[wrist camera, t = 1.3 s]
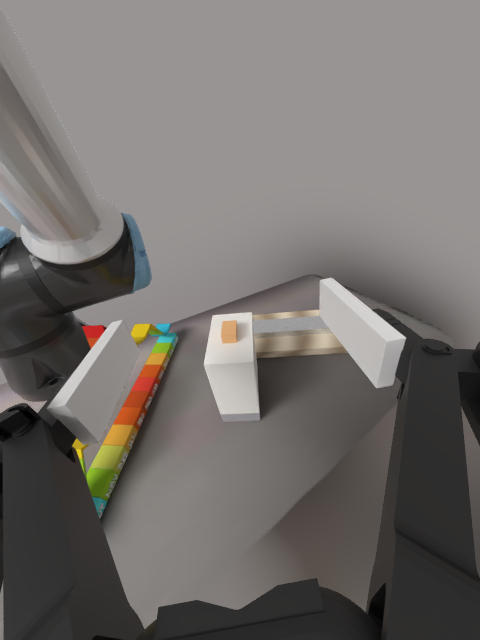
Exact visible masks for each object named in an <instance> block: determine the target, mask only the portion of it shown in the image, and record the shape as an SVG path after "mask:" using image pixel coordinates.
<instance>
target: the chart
mask: <svg viewBox="0 0 480 640" xmlns="http://www.w3.org/2000/svg"><path fill="white" fill-rule="evenodd" d="M170 326H171V324H157V326H156V327H154V326H153V325H152V324H135V325H134V327H133V330H132V332H131V335H132V337H133V339H134V341H135V343H136V345H137V346H138V345H139V344H140V343H141V342H142V341H144V340H145V339H146V337H147V335H148V334H150V335H152V336H160V337H159V339H158V341H157V343H156V345H155V346H154V348H153V350H152V352H151V354H150V356H149V358H148V360H147V362H146V364H145V365H144V367H143V369H142V371H141V373H140V375H139V377H138V379H137V380H136V382H135V384H134V386H133V388H132V390H131V392H130V394H129V395H128V397H127V399H126V401H125V403H124V405H123V407H122V409H121V410H120V412H119V414H118V416H117V418H116V420H115V422H114V424H113V425H112V427H111V429H110V431H109V433H108V435H107V437H106V439H105V441H104V442H103V445H102V446H101V448H100V450H99V452H98V454H97V456H96V457H95V459H94V461H93V463H92V465H91V467H90V469H89V471H88V472H87V474H86V469H85V462H84V460H83V459H84V454H83V450H84V449H85V448H86V447H87V446H88V445H90V444H87V445H83V444H82V443H81V442H80V441H79V440H78V439H77V438H76V440H75V442H74V443H73V445H72V446H73V447H74V448H75V449H76V451H77V454H78V457H79V460H80V463H81V466H82V468H83V471H84V474H85V477H86V480H87V483H88V486H89V489H90V492H91V495H92V498H93V501H94V504H95V507H96V510H97V513H98V516H99V519H100V518H101V516H102V513H103V511H104V509H105V506H106V504H107V501H108V499H109V497H110V495H111V492H112V490H113V488H114V486H115V483H116V481H117V479H118V476H119V474H120V472H121V470H122V467H123V465H124V463H125V461H126V458H127V456H128V453H129V451H130V449H132V444H133V442H134V440H135V437H136V435H137V433H138V431H139V428H140V426H141V424H142V421H143V419H144V417H145V414H146V412H147V410H148V408H149V405H150V403H151V401H152V399H153V396H154V394H155V392H156V390H157V387H158V385H159V382H160V380H161V378H162V376H163V374H164V371H165V369H166V366H167V364H168V362H169V360H170V357H172V353H173V351H174V348H175V346H176V343H177V341H178V337H177V335H176V333H168V332H169V329H170ZM82 327H83V330H84V333H85V335H86V338H87V340H88V343H89V345H90V348H91V349H92V347H93V346H94V345H95V343H96V342H97V341H98V339H99V338H100V337H101V336H102V334H103V333H104V332H105V330H106V329H107V328H106V327H104V326H103V325H98V326H82ZM124 388H125V387H124Z"/></svg>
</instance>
